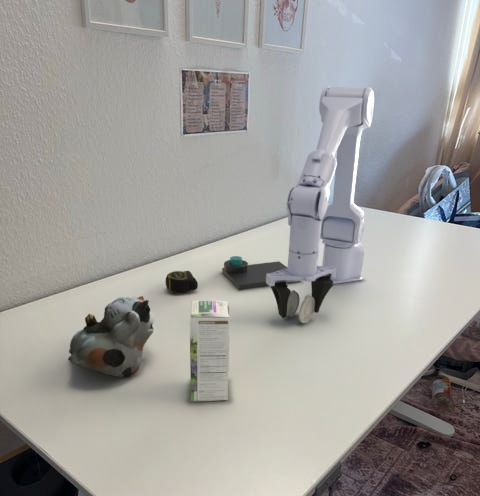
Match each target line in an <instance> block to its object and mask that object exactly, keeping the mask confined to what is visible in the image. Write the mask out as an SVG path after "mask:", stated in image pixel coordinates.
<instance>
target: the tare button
mask: <svg viewBox="0 0 480 496" xmlns="http://www.w3.org/2000/svg"><path fill="white" fill-rule="evenodd" d="M229 260H230V265H233V266H240V265H242V260H243V257H242V256H239V255H233V256H230V257H229Z"/></svg>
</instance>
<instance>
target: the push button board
mask: <svg viewBox="0 0 480 496" xmlns="http://www.w3.org/2000/svg"><path fill="white" fill-rule="evenodd" d="M286 268H288V266H286V265H285V264H284V263H282V262H281V261H271V262H262V263H254V264H249V262H248V261H246V260H243V259H242V265H240V266H233V265H230V259H228V260H225V261H224V263H223V267H221V274H223V276H224V277H226V279H227V280H228V281H229V282H230V283H231V284H232V285H233V286H234V287H235V288H236V289H237V290H238V291H246V290H252V289H259V288H267V287H270V286H269V285H268V284H267V283H266V274H268V273H273V272H276V271H280V270H283V269H286ZM297 283H301V281H296V282H288V283H286V285H288V284H297Z"/></svg>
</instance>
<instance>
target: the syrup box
mask: <svg viewBox="0 0 480 496" xmlns="http://www.w3.org/2000/svg"><path fill="white" fill-rule="evenodd" d="M229 304H230V303H229V302H228V301H227V300H217V299H204V300H203V299H199V300H191V302H190V320H189V322H190V323H189V327H190V328H189V367H190V370H189V371H190V401H191V402H213V401H228V400H229V371H230V341H231V340H230V339H231V338H230V335H231V334H230V333H231V326H230V325H231V322H230V321H231V314H230V305H229Z"/></svg>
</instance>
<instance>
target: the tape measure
mask: <svg viewBox="0 0 480 496" xmlns="http://www.w3.org/2000/svg"><path fill="white" fill-rule="evenodd" d="M198 286H199V283H198V281H197V278H195V276H193V274H192V272H191V271H190V270H183V271H181V270H175V271H171V272H169V273H167V274H166V277H165V287H166V288H167V290H169V292H172V293H177V294H184V293H188V292H193V291H196V290H197V289H198V288H199V287H198Z"/></svg>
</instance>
